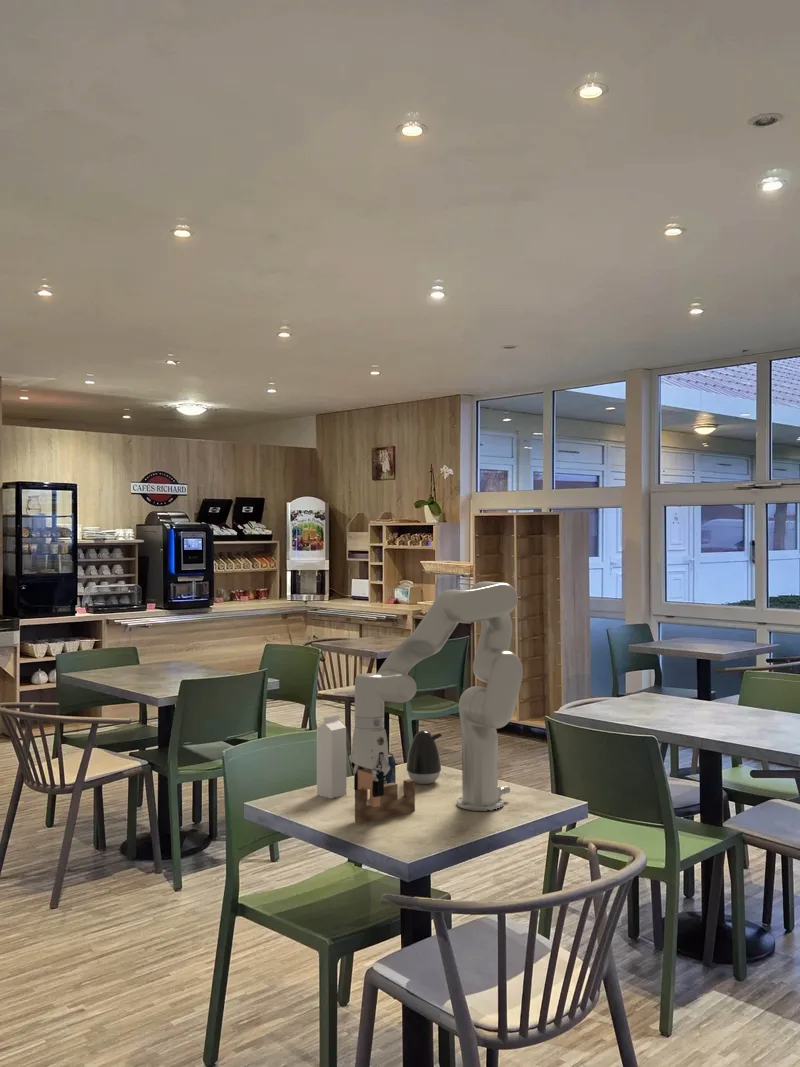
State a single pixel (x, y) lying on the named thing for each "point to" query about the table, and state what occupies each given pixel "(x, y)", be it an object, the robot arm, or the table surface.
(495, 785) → the robot arm
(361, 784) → the slotted plate
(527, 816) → the table surface
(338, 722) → the milk
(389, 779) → the soda can
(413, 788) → the walnut e-shaped block
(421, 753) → the pump dispenser
